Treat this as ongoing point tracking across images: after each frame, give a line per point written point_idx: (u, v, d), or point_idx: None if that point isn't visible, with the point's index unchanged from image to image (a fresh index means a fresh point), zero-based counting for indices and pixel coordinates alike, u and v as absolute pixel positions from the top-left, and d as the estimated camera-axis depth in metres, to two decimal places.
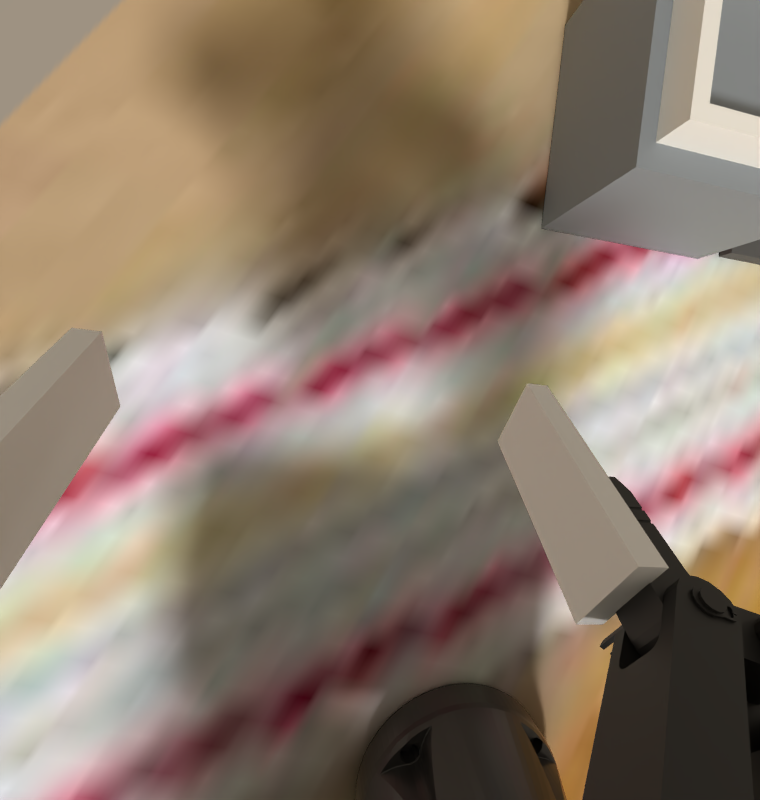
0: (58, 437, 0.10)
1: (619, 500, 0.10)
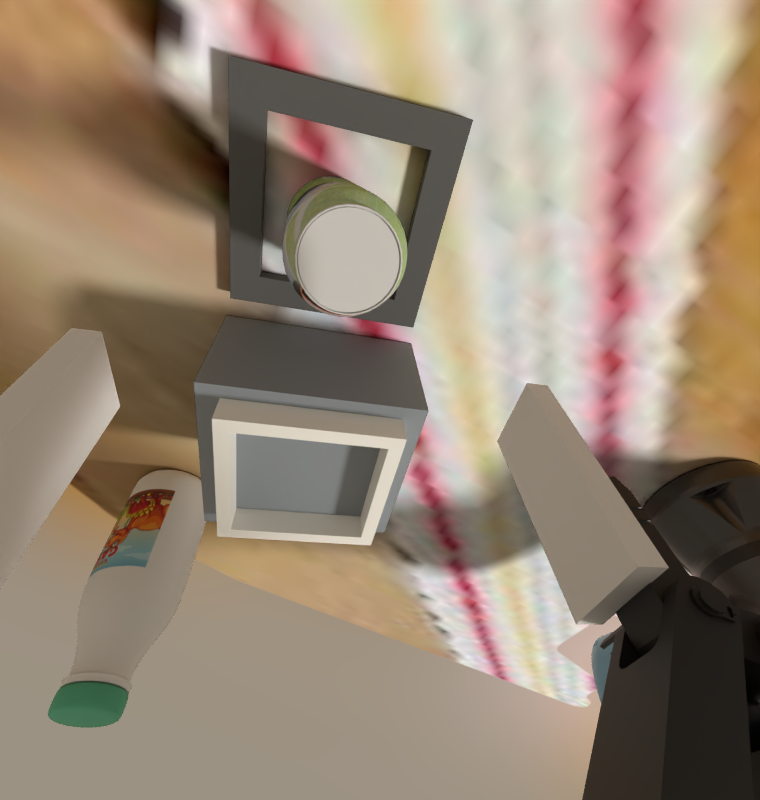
0: (58, 437, 0.10)
1: (619, 500, 0.10)
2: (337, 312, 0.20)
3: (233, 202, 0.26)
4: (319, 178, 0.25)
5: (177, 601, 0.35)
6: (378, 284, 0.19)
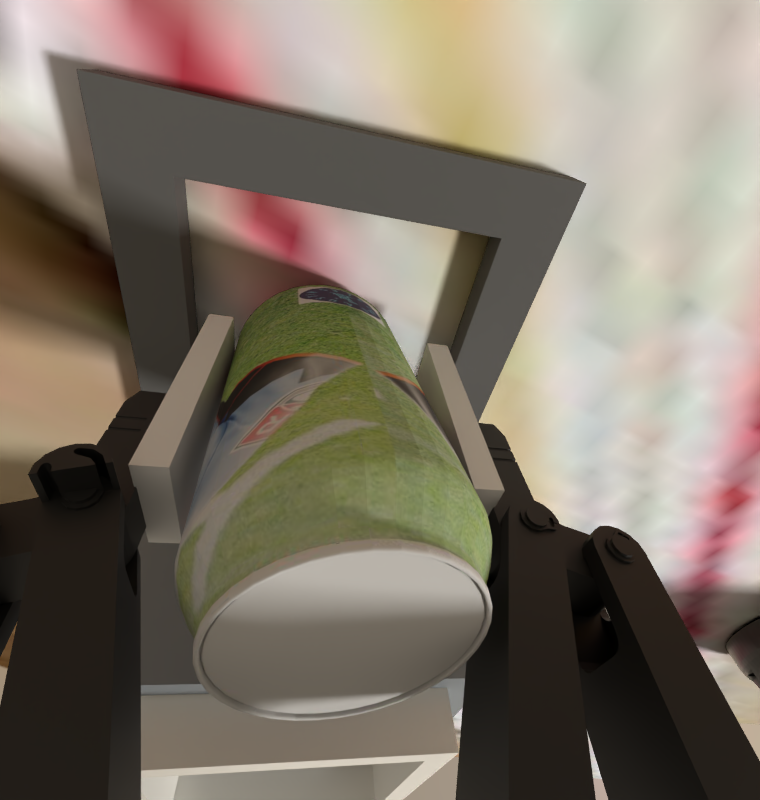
0: (214, 403, 0.12)
1: (479, 437, 0.11)
2: (322, 716, 0.08)
3: (137, 334, 0.14)
4: (290, 295, 0.13)
5: None
6: (425, 660, 0.08)
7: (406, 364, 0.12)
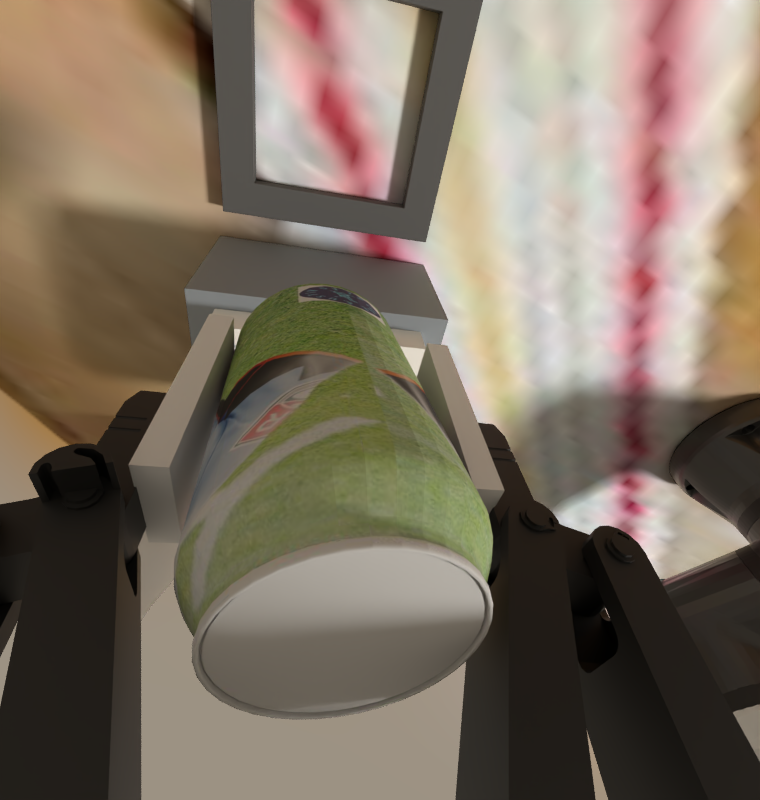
0: (214, 403, 0.12)
1: (479, 437, 0.11)
2: (322, 714, 0.08)
3: (220, 88, 0.23)
4: (290, 294, 0.13)
5: None
6: (426, 659, 0.07)
7: (406, 362, 0.11)
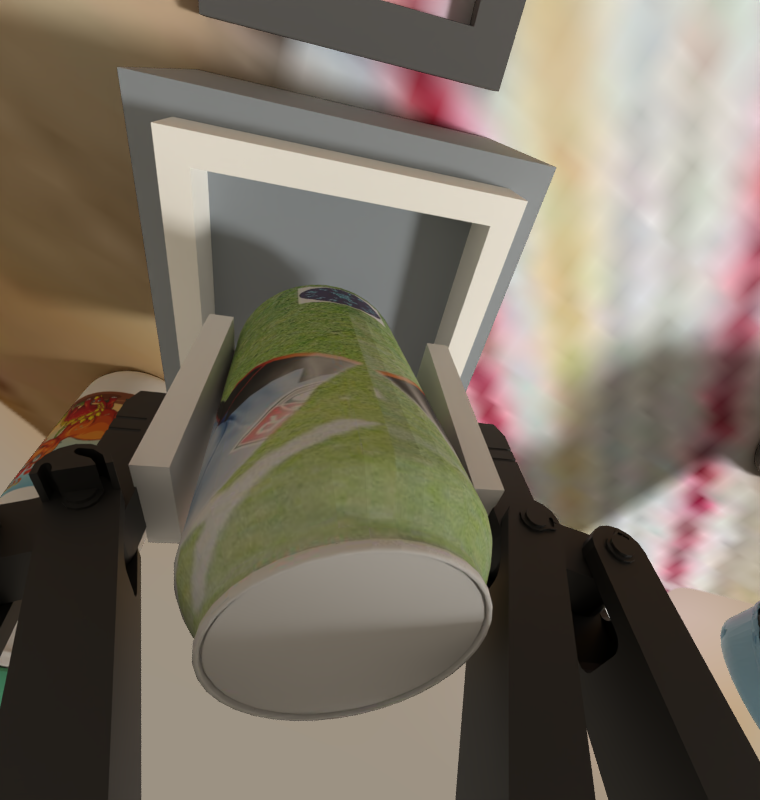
0: (214, 403, 0.12)
1: (479, 437, 0.11)
2: (322, 716, 0.08)
3: None
4: (290, 295, 0.13)
5: None
6: (426, 661, 0.08)
7: (406, 364, 0.11)
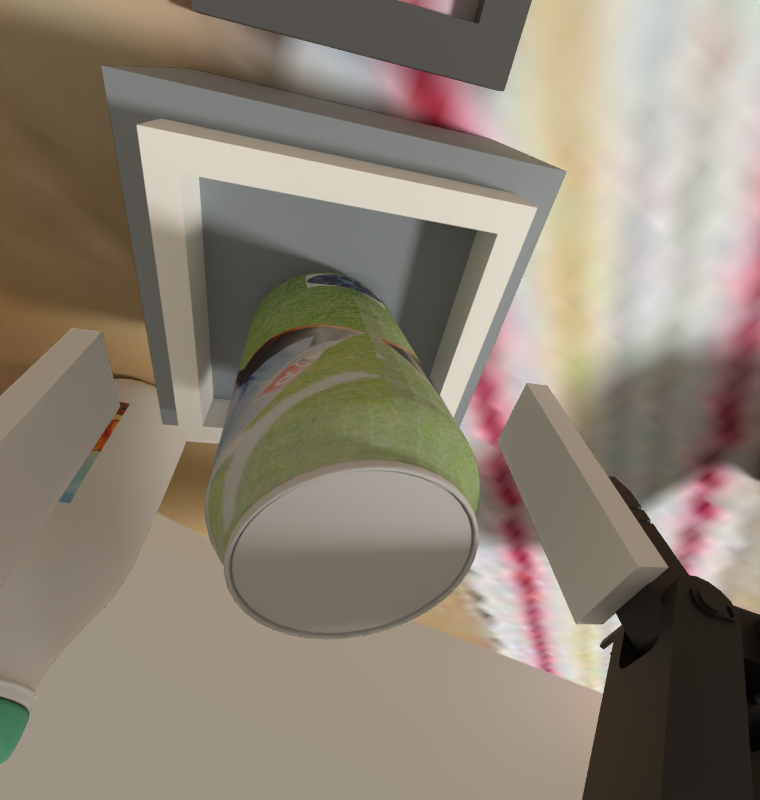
0: (58, 437, 0.10)
1: (619, 500, 0.10)
2: (332, 636, 0.09)
3: None
4: (299, 281, 0.15)
5: (127, 560, 0.22)
6: (422, 583, 0.09)
7: (405, 339, 0.13)
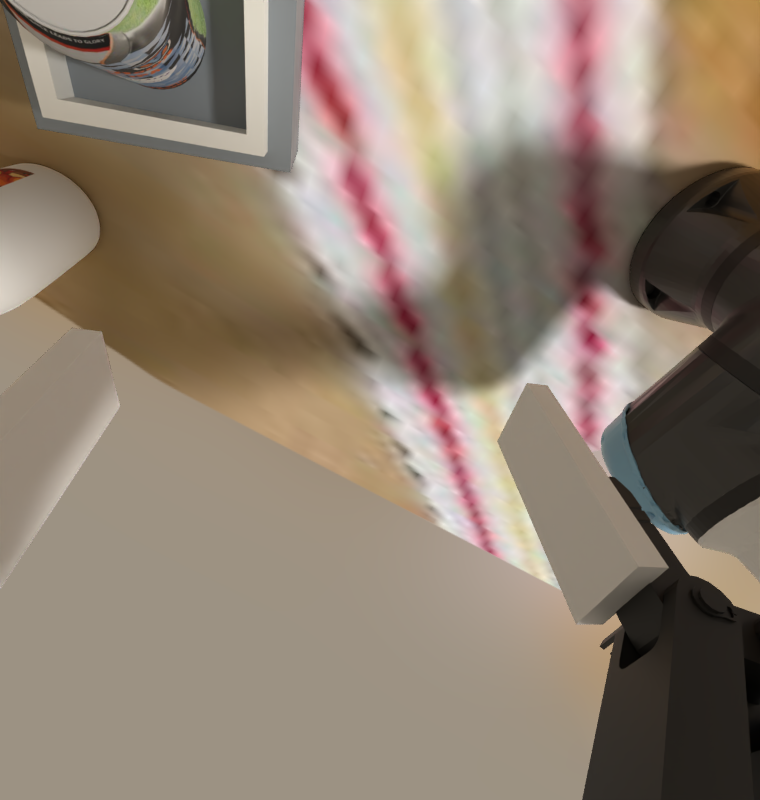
0: (58, 437, 0.10)
1: (619, 500, 0.10)
2: (59, 29, 0.14)
3: None
4: None
5: (22, 266, 0.27)
6: None
7: None
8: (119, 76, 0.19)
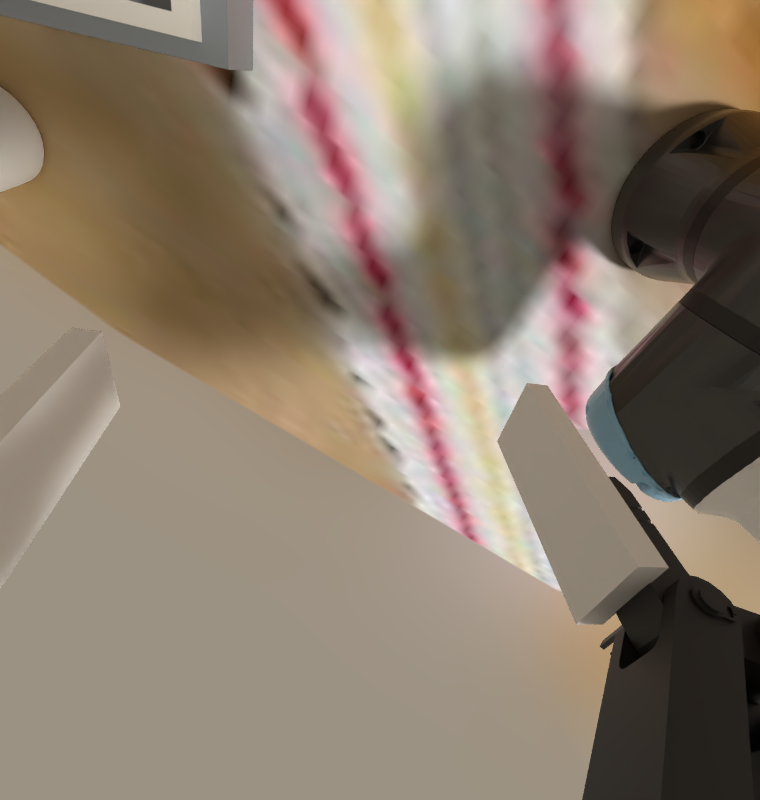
0: (58, 437, 0.10)
1: (619, 500, 0.10)
2: None
3: None
4: None
5: None
6: None
7: None
8: None
